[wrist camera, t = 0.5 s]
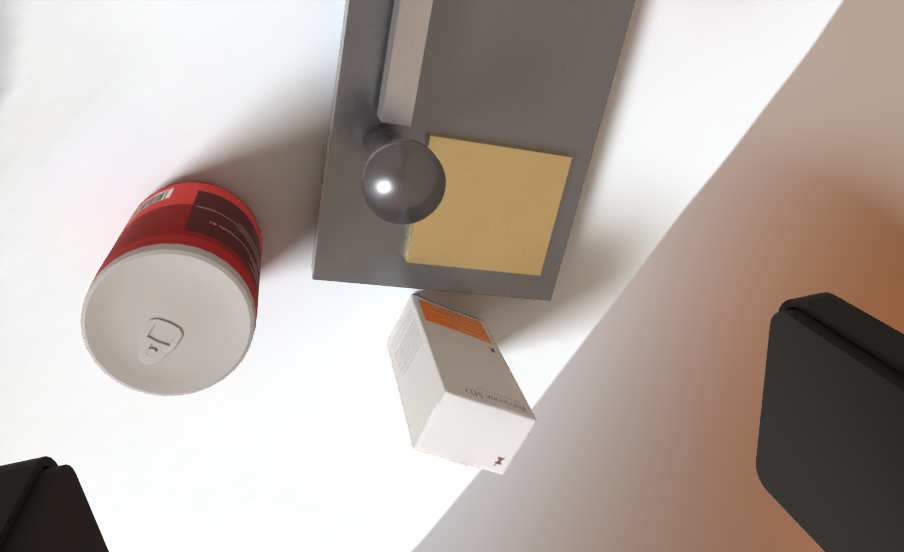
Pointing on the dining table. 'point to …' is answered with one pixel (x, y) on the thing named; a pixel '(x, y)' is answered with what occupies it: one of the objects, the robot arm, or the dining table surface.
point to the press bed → (466, 146)
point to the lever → (403, 61)
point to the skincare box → (457, 388)
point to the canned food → (176, 292)
